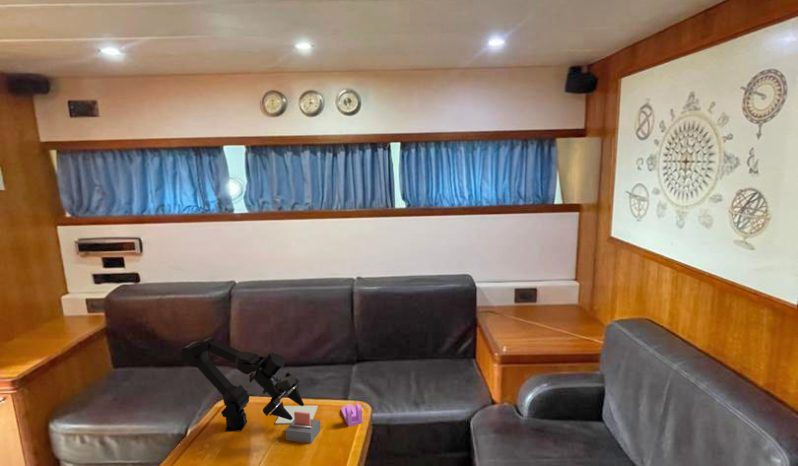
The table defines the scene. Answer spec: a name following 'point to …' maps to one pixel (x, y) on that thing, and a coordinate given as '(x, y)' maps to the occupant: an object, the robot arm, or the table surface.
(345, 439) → the table surface
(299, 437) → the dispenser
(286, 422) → the mat
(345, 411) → the bracket
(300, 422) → the pink rectangular prism
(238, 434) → the table surface
